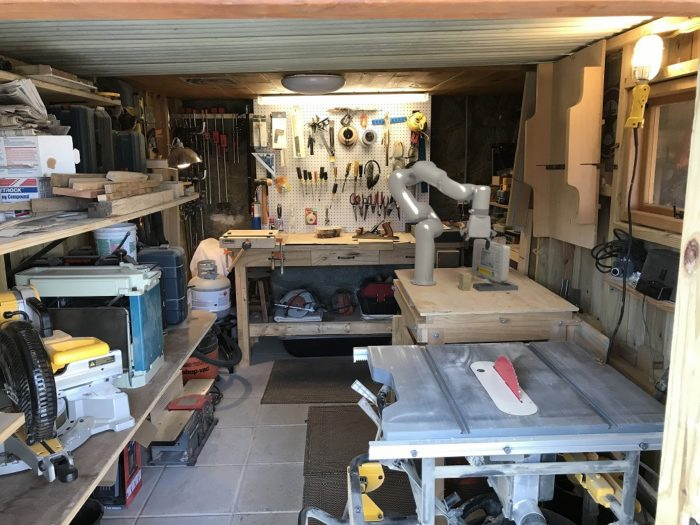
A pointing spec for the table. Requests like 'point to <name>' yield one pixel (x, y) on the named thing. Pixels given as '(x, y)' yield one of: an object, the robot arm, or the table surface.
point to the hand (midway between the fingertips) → (476, 249)
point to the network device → (490, 261)
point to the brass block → (465, 281)
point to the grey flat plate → (495, 286)
